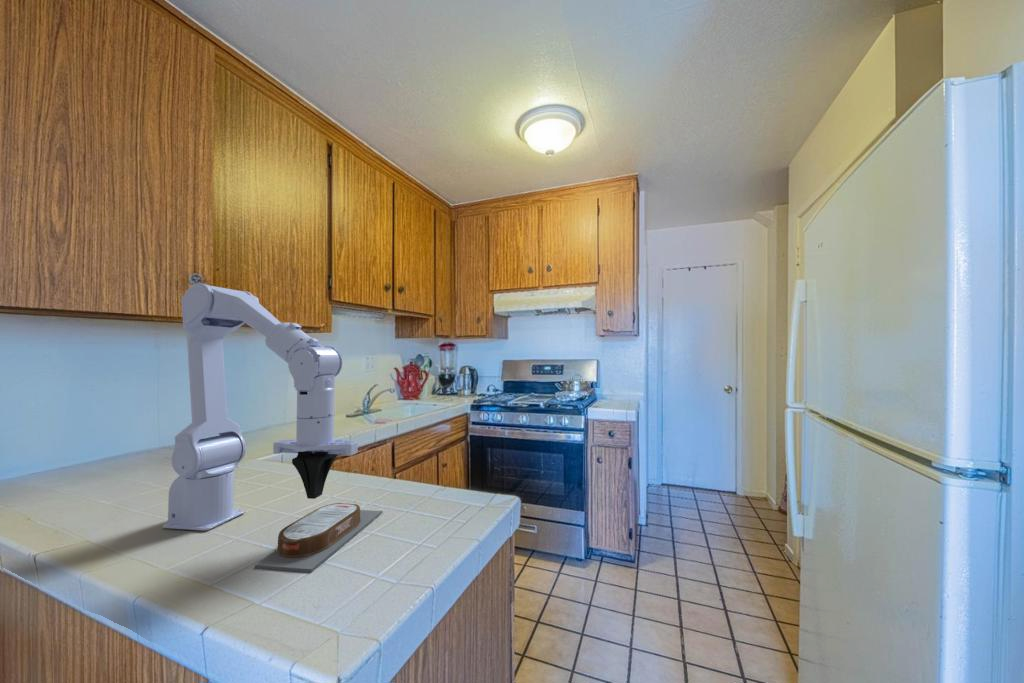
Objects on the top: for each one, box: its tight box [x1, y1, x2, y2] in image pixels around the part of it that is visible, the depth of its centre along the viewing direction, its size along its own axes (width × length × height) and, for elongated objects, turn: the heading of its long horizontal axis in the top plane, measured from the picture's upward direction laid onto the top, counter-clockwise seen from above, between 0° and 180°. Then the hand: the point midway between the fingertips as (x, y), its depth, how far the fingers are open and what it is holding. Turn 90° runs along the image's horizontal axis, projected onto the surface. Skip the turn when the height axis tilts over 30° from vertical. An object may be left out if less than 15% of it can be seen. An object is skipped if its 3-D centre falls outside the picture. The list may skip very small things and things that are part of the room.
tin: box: [276, 502, 361, 558], centre depth 62 cm, size 15×3×8 cm
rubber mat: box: [254, 509, 383, 573], centre depth 62 cm, size 9×20×1 cm, turn 171°
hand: (314, 496), depth 63 cm, fingers closed
